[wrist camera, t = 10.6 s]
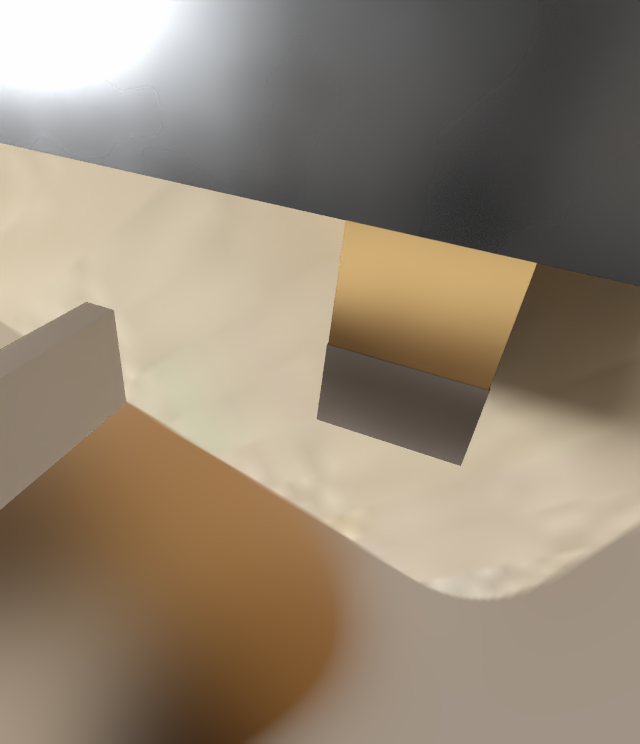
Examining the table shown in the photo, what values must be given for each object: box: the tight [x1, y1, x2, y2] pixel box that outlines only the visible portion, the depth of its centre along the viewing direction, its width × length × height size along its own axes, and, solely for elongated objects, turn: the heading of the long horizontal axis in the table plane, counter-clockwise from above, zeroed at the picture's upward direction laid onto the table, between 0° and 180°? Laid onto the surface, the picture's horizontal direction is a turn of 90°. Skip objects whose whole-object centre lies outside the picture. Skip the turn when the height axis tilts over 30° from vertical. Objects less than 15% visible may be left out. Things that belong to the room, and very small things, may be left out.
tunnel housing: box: [0, 0, 640, 286], centre depth 10 cm, size 3×18×10 cm, turn 84°
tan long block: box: [317, 220, 537, 466], centre depth 12 cm, size 18×5×5 cm, turn 174°
